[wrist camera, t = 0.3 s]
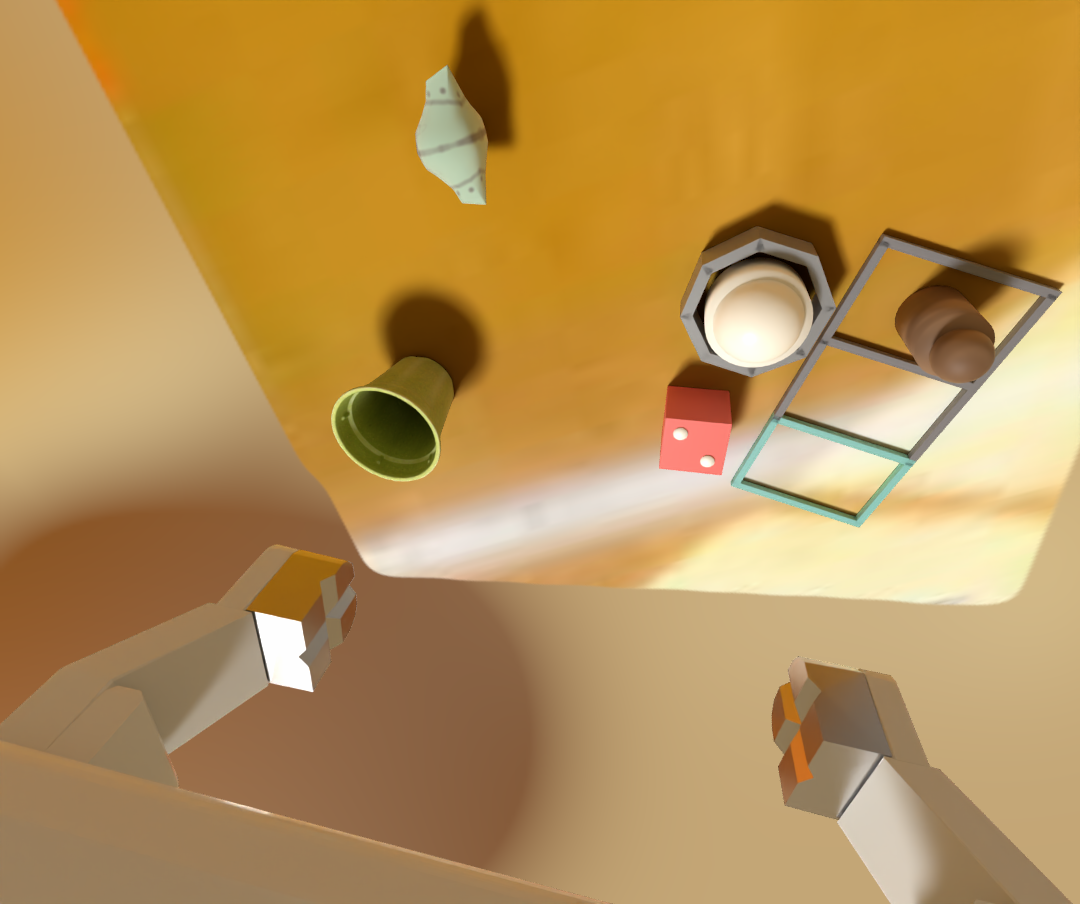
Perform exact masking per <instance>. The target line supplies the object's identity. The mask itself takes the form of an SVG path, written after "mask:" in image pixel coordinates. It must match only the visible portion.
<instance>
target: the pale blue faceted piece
mask: <svg viewBox="0 0 1080 904" xmlns="http://www.w3.org/2000/svg"><path fill="white" fill-rule="evenodd" d="M415 134H416V146H417V153H418V155H419V157H420V159H421V161H422V162H423V164H424V166H425V167H426V169H427V170H428V171H430V172H431V173H433V174H434V175H436V176H437V177H439V178H440V179H441V180H442V181H444V182H445V183H446V184H447V185H449V186H450V187H451V188H452V189H453V190H454V191H455V193H456V194H457V196H458V197H459V199H460V200H461V202H462V203H469V204H484V205H486V180H485V170H486V157H487V148H488V139H487V134H486V129H485V126H484V123H483V121H482V118H481V116H480V115H479V114H478V113H477V111H476V110H475V109H474V108H473V107H472V106H471V105H470V103H469V102H468V100H467V99H466V98H465V96H464V94H463V93H462V91H461V89H460V87H459V85H458V84H457V82H456V80H455V78H454V76H453V74H452V73H451V71H450V69H449V67H448V65H447V66H445V67H444V68H443V69H441V70H440V71H439V72H437V73H436V74H435V75H434V76H432V77H431V78H430V79H428V80H427V81H426V103H425V107H424V110H423V114H422V117H421V120H420V122H419V125H418V128H417V130H416V133H415Z"/></svg>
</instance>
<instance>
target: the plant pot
mask: <svg viewBox="0 0 1080 904" xmlns="http://www.w3.org/2000/svg"><path fill="white" fill-rule="evenodd" d="M453 398H454V391H453V383H452V379H451V377H450V376H449V374H448V373H447V371H446V370H445V369H444V368H443V367H442V366H441V365H439V364H438V363H437V362H435V361H433V360H431V359H429V358H422V357H414V356H409V357H406V358H403V359H401V360H400V361H399V362H397V363H396V364H395V365H394V366H392V367H391V368H390V369H389V370H387V371H386V372H385V373H383V374H382V375H380V376H379V377H378V378H376V379H375V380H374V381H372V382H371V383H370V384H367V385H365V386H361V387H357V388H353V389H351V390H349V391H347V392H346V393H344V394H343V395H342V396H341V397H340V398H339V399H338V400H337V402H336V403H335V405H334V408H333V411H332V416H331V420H332V428H333V432H334V435H335V437H336V439H337V441H338V443H339V444H340V446H341V448H342V449H343V450H344V451H345V453H346V454H347V455H348V456H349V457H350V458H351V459H352V460H353V461H354V462H356V463H357V464H358V465H359V466H361V467H362V468H364V469H365V470H367V471H368V472H370V473H372V474H375V475H377V476H379V477H382V478H385V479H390V480H394V481H412V480H417V479H420V478H422V477H424V476H426V475H427V474H429V473H430V472H431V471H432V470H433V469H434V468H435V466H436V464H437V462H438V460H439V457H440V452H441V441H440V435H441V432H442V429H443V426H444V423H445V420H446V417H447V414H448V412H449V409H450V406H451V403H452V401H453Z"/></svg>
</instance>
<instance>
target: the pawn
mask: <svg viewBox="0 0 1080 904" xmlns="http://www.w3.org/2000/svg"><path fill="white" fill-rule="evenodd" d="M895 327H896V330H897V332H898V333H899V335H900V337H901V338H902V340H903V341H904V343H905V345H906V346H907V348H908V349H909V351H910V353H911V354H912V356H913V357H914V359H915V361H916V362H917V364H918V365H919V367H920V368H921V369H922V370H923V371H925V372H926V373H928V374H931V375H934V376H938V377H939V378H941V379H943V380H945V381H948V382H951V383H967V382H971V381H974V380H976V379H978V378H980V377H982V376H983V375H984V374H985V373H987V371H988V370H989V369H990V368H991V366H992V365H993V362H994V359H995V348H994V342H995V333H994V330H993V328H992V326H991V325H990V324H989V323H988V322H987V321H986V319H985V318H984V317H983V316H982V315H981V314H980V313H979V312H978V311H977V310H976V309H975V308H974V307H973V306H972V304H971V303H970V302H969V301H968V300H967V299H966V298H965V297H964V296H963V295H962V294H961V293H960V292H959V291H958V290H956V289H954V288H952V287H949V286H942V285H937V286H931V287H927V288H924V289H921V290H919V291H917V292H915V293H914V294H912V295H911V296H909V297H908V298H907V299H906V300H905V301H904V302H903V303H902V304H901V306H900V307H899V309H898V311H897V313H896V317H895Z"/></svg>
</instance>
